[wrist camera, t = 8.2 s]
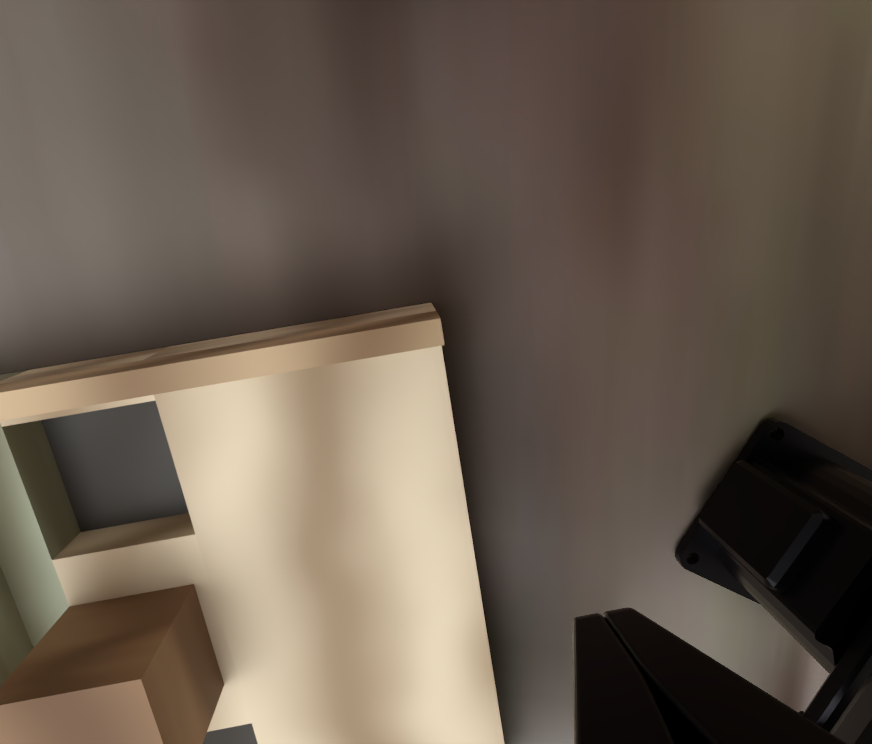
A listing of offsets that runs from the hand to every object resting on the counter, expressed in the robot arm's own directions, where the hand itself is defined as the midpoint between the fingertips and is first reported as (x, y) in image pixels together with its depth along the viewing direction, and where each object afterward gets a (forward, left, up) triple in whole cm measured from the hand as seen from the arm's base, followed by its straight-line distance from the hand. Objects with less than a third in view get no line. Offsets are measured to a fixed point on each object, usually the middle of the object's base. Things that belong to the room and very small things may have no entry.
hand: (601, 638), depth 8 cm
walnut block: (+6, +12, -10) cm, 17 cm away
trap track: (+3, +10, -12) cm, 16 cm away
